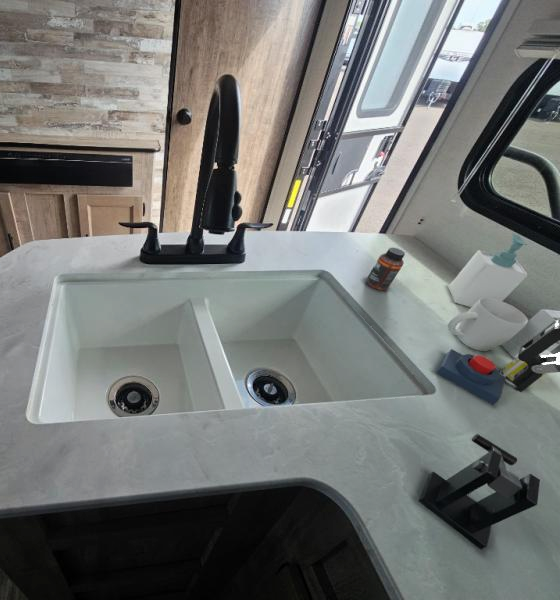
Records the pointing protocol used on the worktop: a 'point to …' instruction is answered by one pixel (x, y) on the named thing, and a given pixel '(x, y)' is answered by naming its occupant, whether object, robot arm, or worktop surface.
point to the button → (482, 364)
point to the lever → (501, 469)
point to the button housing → (471, 376)
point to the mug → (488, 324)
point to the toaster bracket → (468, 513)
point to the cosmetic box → (531, 331)
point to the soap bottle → (489, 275)
